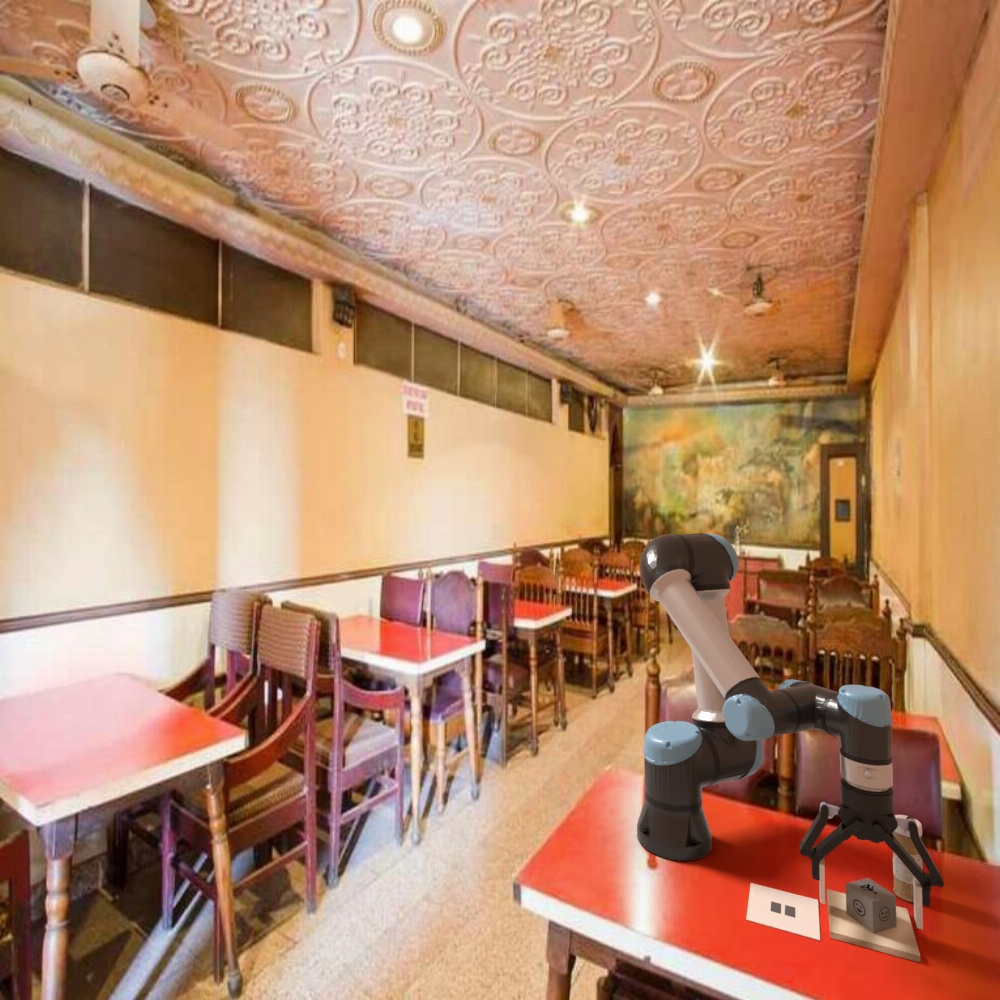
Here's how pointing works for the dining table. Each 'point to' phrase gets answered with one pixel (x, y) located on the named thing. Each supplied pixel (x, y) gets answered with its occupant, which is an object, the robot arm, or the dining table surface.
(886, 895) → the dice cube
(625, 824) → the dining table surface
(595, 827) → the dining table surface
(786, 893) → the white tile
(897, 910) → the birch coaster
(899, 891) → the sprinkles bottle
